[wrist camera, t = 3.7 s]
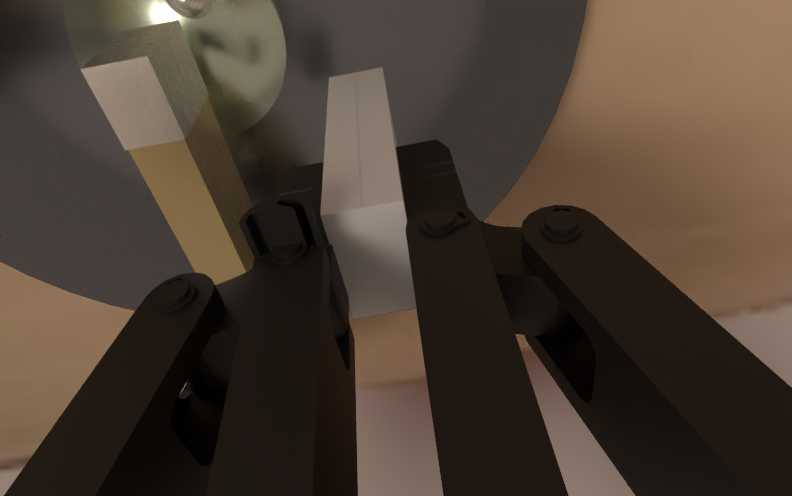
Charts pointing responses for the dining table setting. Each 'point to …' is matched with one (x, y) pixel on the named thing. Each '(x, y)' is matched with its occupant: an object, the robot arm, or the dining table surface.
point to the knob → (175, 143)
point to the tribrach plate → (256, 111)
